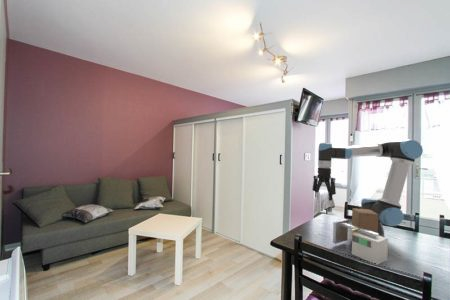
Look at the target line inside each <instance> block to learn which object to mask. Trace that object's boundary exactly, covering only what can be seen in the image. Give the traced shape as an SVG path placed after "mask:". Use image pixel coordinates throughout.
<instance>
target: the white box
mask: <svg viewBox="0 0 450 300" xmlns="http://www.w3.org/2000/svg"><path fill="white" fill-rule="evenodd" d="M388 246H389V238H388V237H386V236H377V237H375V236H372V235H369V234H366V233H363V232H360V231H358V232H354V233H353V241H351V255H353V256H356V257H357V258H361V259H363V260H365V261H368V262H369V263H372V262H373V263H372V264H374V263H376V264H378V265H380V264H382V263H385V262H386V261H388V248H389V247H388ZM376 264H375V265H376Z"/></svg>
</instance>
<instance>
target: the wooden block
mask: <svg viewBox="0 0 450 300" xmlns="http://www.w3.org/2000/svg"><path fill="white" fill-rule="evenodd" d="M351 211H352V212H351V225H354V226H357V227H360V228H363V229H366V230H369V231H373V232H376V233H378V214H377V213H375V212H373V211H371V210H367V209H361V208H356V207H355V208H354V207H353V208H352V210H351ZM351 230H353V229H351ZM355 232H358V231H355ZM353 233H354V232H353Z"/></svg>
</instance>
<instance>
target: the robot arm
mask: <svg viewBox="0 0 450 300" xmlns="http://www.w3.org/2000/svg"><path fill="white" fill-rule="evenodd" d="M423 151H424V149H423V146H422V145H421V143H420V142H419V141H418V140H415V139H410V138H409V139H407V138H406V139H396V140H395V139H394V140H387V141H384V142H383V141H382V142H375V143H374V144H365V145H361V144H360V145H351V146H350V145H349V146H348V145H347V146H346V145H345V146H333V144H332V143H331V142H330V143H329V142H320V143H319V144H318V151H317V153H318V154H317V155H318V159H317V166H318V167H317V175H313V182H312V189H311V190H312V191H313V192H314V197H315V203H316V204H319V203H320V200H321V199H320V197H321V196H320V189H321V186H322V184H323V183H324V185H325V186H326V190H327V199H326V202H327V203H326V206H328V207H329V206H331V205H332V201H333V195H336V194H337V190H336V178H335V177H332V175H331V174H332V159H339V160H349V159H351V158H356V157H357V158H358V157H372V156H374V157H376V158H389V159H390V160H391V165H390V170H389V172H388V176H387V179H386V182H385V186H384V190H383V191H382V192H383V193H382V195H381V198H362V199H361V203H360V209H367V210H371V211H373V212H375V213H377V214H378V233H379V236H382V237H385V230H384V227H383V225H386V226H388V227H396V226H399V225H400V224H402V223H403V220H404V218H405V217H404V216H405V215H404V213H403V211H402V205H401V204H400V200H401V197H402V194H403V191H404V187H405V183H406V180H407V178H408V177H407V176H408V174H409V169H410V167H411V165H413V164H414V163H415V162H416V159H418V158H420V157H421V156H422V155H423Z"/></svg>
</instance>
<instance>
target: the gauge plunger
mask: <svg viewBox="0 0 450 300" xmlns="http://www.w3.org/2000/svg"><path fill="white" fill-rule="evenodd" d="M332 229H333V230H332V243H333V244H335V245H336V244H340V243H342V242H343V243H344V242H347V241H348V235H349V233H348V232H349V229H350V230H351V231H350V241H351V242H352V241H353V232H355V231H360V232H363V233H366V234H369V235H372V236H375V237H377V236H379V233H376V232H373V231H369V230H366V229H363V228H360V227H357V226H354V225H352V224H350V223H349V219H346V218H345V219H339V220H336V221H333V228H332ZM352 229H353V230H352Z"/></svg>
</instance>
